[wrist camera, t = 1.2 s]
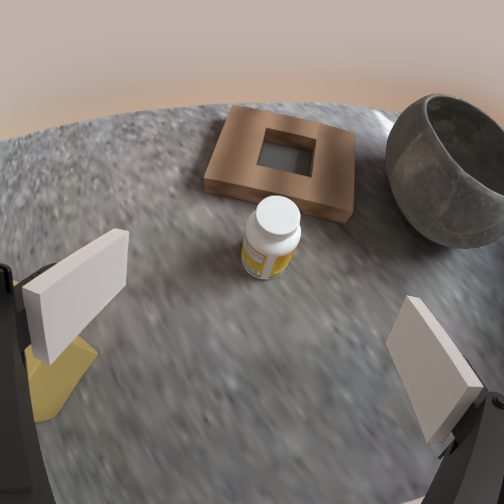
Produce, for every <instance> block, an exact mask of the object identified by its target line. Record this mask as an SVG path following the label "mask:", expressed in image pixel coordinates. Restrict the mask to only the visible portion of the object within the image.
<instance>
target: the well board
mask: <svg viewBox="0 0 504 504" xmlns="http://www.w3.org/2000/svg"><path fill="white" fill-rule="evenodd" d="M263 143H264V145H263ZM262 146H263V148H262ZM261 150H262V152H261ZM260 154H261V156H260ZM311 154H312V155H311ZM259 157H260V159H259ZM310 160H311V163H310ZM258 161H259V163H258ZM309 167H310V170H309ZM308 174H309V177H308ZM354 177H355V133H353V132H349V131H346V130H342V129H338V128H335V127H331V126H327V125H324V124H320V123H316V122H312V121H308V120H304V119H300V118H295V117H291V116H287V115H282V114H277V113H273V112H268V111H263V110H258V109H253V108H247V107H242V106H236V105H232V107H231V110H230V112H229V115H228V117H227V119H226V122H225V124H224V127H223V129H222V132H221V134H220V137H219V139H218V142H217V144H216V147H215V149H214V152H213V154H212V157H211V160H210V162H209V165H208V167H207V170H206V173H205V175H204V191H205V192H206V193H211V194H215V195H220V196H225V197H230V198H235V199H239V200H244V201H248V202H253V203H257V204H259V203H260V202H261V201H262V200H263V199H265V198H267V197H270V196H282V197H285V198H288V199H289V200H291V201H292V202H293V203H295V205H296V206H297V207H298V209H299V212H300V213H301V214H305V215H309V216H314V217H318V218H322V219H326V220H330V221H334V222H338V223H342V224H346V222H347V221H348V219H349V218H350V216H351V215H352V213H353V205H354Z"/></svg>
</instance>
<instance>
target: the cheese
mask: <svg viewBox="0 0 504 504" xmlns="http://www.w3.org/2000/svg"><path fill="white" fill-rule="evenodd" d="M18 283H20V282H18V281H15V280H13V287H14V286H15V285H17V284H18ZM25 355H26V361H27V372H28V381H29V389H30V396H31V403H32V409H33V415H34V421H35V422H40V421H47V420H50V419H52V418H54V417H56V415H57V414H58V413H59V411H60V410H61V408H62V407H63V405H64V404H65V402H66V401H67V399H68V397H69V396H70V394H71V393H72V391H73V389H74V388H75V386H76V385H77V383H78V381H79V380H80V379H81V377H82V376H83V374H84V373H85V372H86V370H87V369H88V368H89V366H90V365H91V364H92V362H93V361H94V360H95V358H96V357H97V356H98V352H97V351H96V350H95V349H94V348H93V347H92V346H90V345H89V344H88V343H87V342H86V341H85V340H84V339H83V338H81V337H80V336H79V335H77V337H76V338H75V339H74V340H73V341H72V342H71V343H70V344H69V345H68V346H67V347H66V349H65V350H64V351H63V352H62V353H61V354H60V355H59V356H58V357H57V359H56V360H55V361H54V362H53V363H52V364H51V365H48V364H46V363H44V362H42V361H40V360H38V359H36V358H34V357H33V352H32V348H31V344H30V345H29V346H28V347H27V348H26V349H25Z"/></svg>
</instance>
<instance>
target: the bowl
mask: <svg viewBox="0 0 504 504" xmlns="http://www.w3.org/2000/svg"><path fill="white" fill-rule="evenodd" d="M386 170H387V176H388V180H389V184H390V187H391V190H392V193H393V196H394V198H395V200H396V202H397V205H398V206H399V208H400V210H401V211H402V213H403V214H404V216H405V217H406V219H407V220H408V221H409V223H410V224H411V225H412V226H413V227H414V228H415V229H416V230H417V231H418V232H419V233H420V234H422V235H423V236H425V237H426V238H428V239H429V240H431V241H433V242H435V243H438V244H441V245H443V246H447V247H452V248H461V249H469V248H477V247H480V246H484V245H487V244H489V243H491V242H494V241H495V240H497V239H498V238H500V237H501V236H502V235H503V234H504V130H503V129H502V128H501V127H500V126H499V125H498V124H497V123H496V122H495V121H494V120H493V119H492V118H491V117H490V116H489V115H487V114H486V113H485V112H484V111H482V110H481V109H479V108H478V107H476V106H474V105H473V104H471V103H469V102H467V101H465V100H463V99H460V98H456V97H453V96H450V95H445V94H431V95H428V96H425V97H423V98H421V99H419V100H418V101H416V102H414V103H413V104H411V105H410V106H409V107H408V108H407V109H406V110H404V111H403V113H402V114H401V115H400V116H399V118H398V119H397V121H396V123H395V124H394V126H393V128H392V129H391V132H390V134H389V137H388V140H387V146H386Z"/></svg>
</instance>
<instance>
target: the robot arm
mask: <svg viewBox="0 0 504 504" xmlns="http://www.w3.org/2000/svg"><path fill="white" fill-rule="evenodd" d="M128 242H129V231H125V230H121V229H117V228H114V229H113V230H111V231H109V232H108V233H106V234H104V235H102V236H101V237H99V238H97V239H96V240H94V241H92V242H91V243H89V244H88V245H86V246H84V247H83V248H81V249H79V250H78V251H76V252H75V253H73V254H71V255H70V256H68V257H67V258H65V259H64V260H62V261H60V262H59V263H53V264H50V265H47V266H44V267H43V268H41V269H39V270H38V271H37V272H36V273H33V274H32V275H30V277H27V278H26V279H24V280H23V281H21V282H20V283H18V284H17V285H15V286H14V287H13V278H12V270H11V268H10V267H9V266H8V265H5V264H0V504H56V502H55V500H54V496H53V493H52V490H51V487H50V484H49V480H48V477H47V473H46V469H45V466H44V462H43V458H42V454H41V450H40V445H39V441H38V436H37V431H36V426H35V421H34V415H33V409H32V403H31V396H30V389H29V381H28V372H27V361H26V355H25V349H26V348H27V347H28V346H29V345H30V344H31V348H32V352H33V357H34V358H36V359H38V360H40V361H42V362H44V363H46V364H48V365H51V364H52V363H53V362H54V361H55V360H56V359H57V357H58V356H59V355H60V354H61V353H62V352H63V351H64V350H65V349H66V347H67V346H68V345H69V344H70V343H71V342H72V341H73V340H74V339H75V338H76V337H77V335H78V334H79V333H80V332H81V331H82V330H83V329H84V328H85V327H86V326H87V325H88V324H89V323H90V322H91V320H92V319H93V318H94V317H95V316H96V315H97V314H98V313H99V312H100V311H101V310H102V309H103V308H104V307H105V306H106V305H107V304H108V303H109V302H110V301H111V300H112V299H113V298H114V297H115V295H116V294H117V293H118V292H119V291H120V290H121V289H122V288H123V287H124V286H125V285H126V270H127V255H128ZM385 344H386V346H387V348H388V350H389V353H390V355H391V357H392V359H393V362H394V364H395V366H396V368H397V371H398V373H399V375H400V378H401V380H402V382H403V385H404V387H405V389H406V392H407V394H408V397H409V399H410V401H411V404H412V406H413V409H414V411H415V414H416V416H417V419H418V421H419V424H420V427H421V429H422V432H423V434H424V437H425V440H426V442H427V443H442V442H443V441H444V440H445V439H446V438H447V436H448V435H449V434H450V433H451V431H452V433H453V435H454V437H455V439H454V440H453V441H452V442H451V443H450V444H449V446H448V447H447V448H446V449H445V450H444V451H443V453H442V454H441V455H440V456H439V457H438V458H439V459H441V458H442V457H443V456H444V458H443V460H442V463H441V465H440V467H439V469H438V471H437V473H436V475H435V477H434V480H433V482H432V484H431V486H430V488H429V489H428V491H427V493H426V495H425V497H424V499H423V501H422V503H421V504H504V396H503V395H502V394H499V393H497V392H489V391H488V389H487V388H486V386H485V385H484V383H483V382H482V380H481V379H480V377H479V376H478V375H476V372H475V370H474V369H473V368H472V366H471V364H470V363H469V361H468V360H467V359H466V358H465V357H464V356H463V355H462V354H461V353H460V351H459V350H458V349H457V347H456V346H455V344H454V343H453V342H452V340H451V339H450V337H449V336H448V335H447V333H446V332H445V331H444V329H443V328H442V327H441V325H440V324H439V323H438V321H437V320H436V319H435V317H434V316H433V315H432V313H431V312H430V311H429V310H428V308H427V307H426V306H425V304H424V303H423V302H422V301H421V299H420V298H417V297H412V296H408V295H406V298H405V300H404V303H403V305H402V307H401V310H400V312H399V314H398V317H397V319H396V321H395V323H394V326H393V328H392V330H391V332H390V334H389V336H388V339H387V341H386V343H385Z"/></svg>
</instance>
